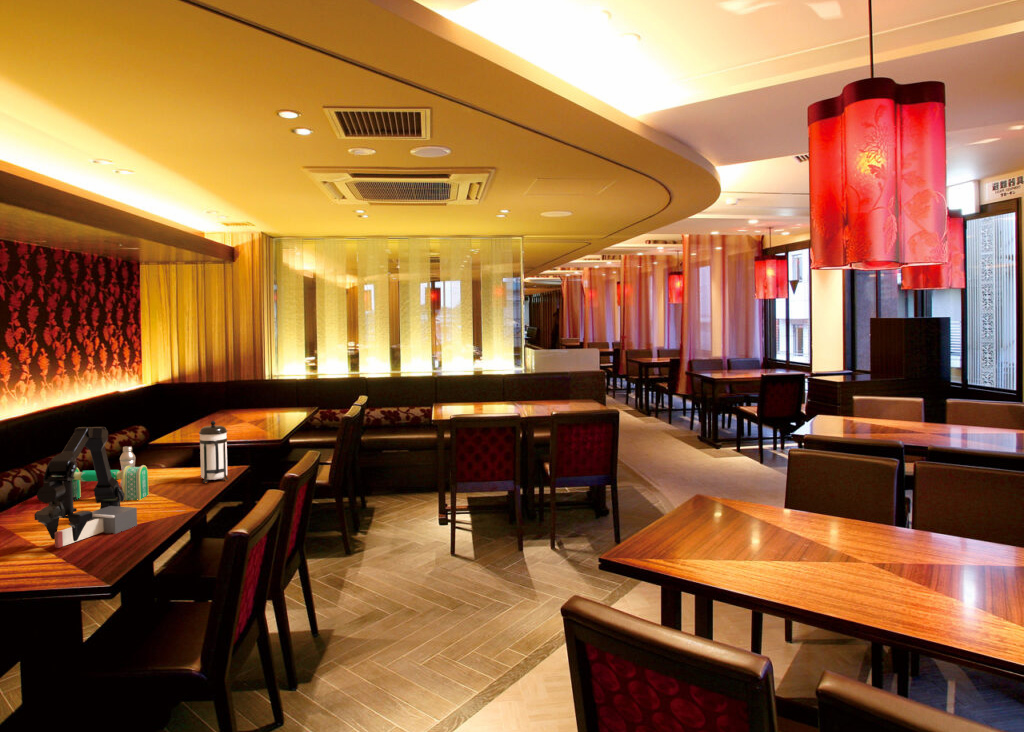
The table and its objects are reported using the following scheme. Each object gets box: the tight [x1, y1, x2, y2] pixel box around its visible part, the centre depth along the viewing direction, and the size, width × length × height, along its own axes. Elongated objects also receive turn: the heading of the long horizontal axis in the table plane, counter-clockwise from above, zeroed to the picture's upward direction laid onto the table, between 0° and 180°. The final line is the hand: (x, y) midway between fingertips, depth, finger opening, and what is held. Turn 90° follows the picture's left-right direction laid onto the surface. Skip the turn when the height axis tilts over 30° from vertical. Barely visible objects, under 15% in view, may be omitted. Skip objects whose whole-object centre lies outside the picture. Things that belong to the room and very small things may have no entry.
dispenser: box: [90, 506, 138, 535], centre depth 237 cm, size 11×12×7 cm
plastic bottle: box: [119, 445, 136, 488], centre depth 298 cm, size 6×7×20 cm
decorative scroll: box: [51, 464, 149, 501], centre depth 279 cm, size 36×8×15 cm, turn 97°
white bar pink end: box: [54, 517, 104, 549], centre depth 224 cm, size 19×1×5 cm, turn 167°
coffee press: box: [198, 420, 229, 484], centre depth 314 cm, size 17×16×30 cm
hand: (64, 539), depth 218 cm, fingers open, 9 cm apart
